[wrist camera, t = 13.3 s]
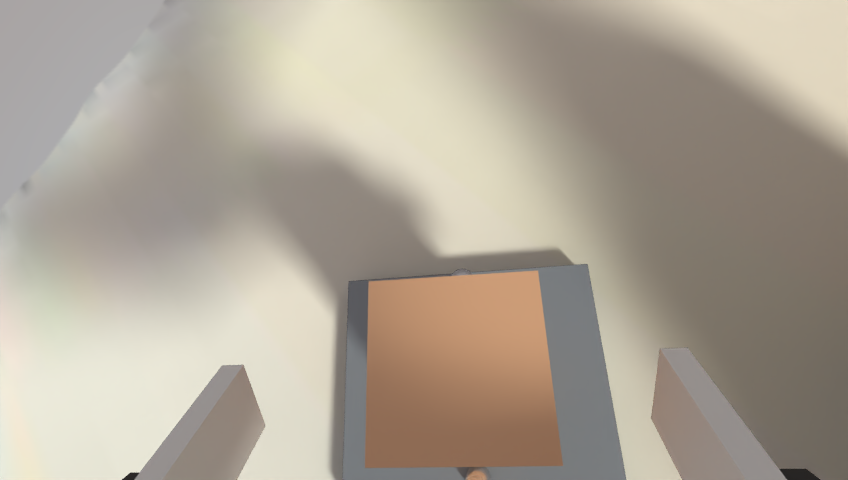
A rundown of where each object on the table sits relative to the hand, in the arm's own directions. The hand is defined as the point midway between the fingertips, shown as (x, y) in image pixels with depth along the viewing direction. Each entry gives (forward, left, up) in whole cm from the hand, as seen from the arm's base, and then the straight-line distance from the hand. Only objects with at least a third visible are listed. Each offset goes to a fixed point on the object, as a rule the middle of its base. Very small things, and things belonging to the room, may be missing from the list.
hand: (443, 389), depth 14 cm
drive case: (-1, -1, -10) cm, 10 cm away
